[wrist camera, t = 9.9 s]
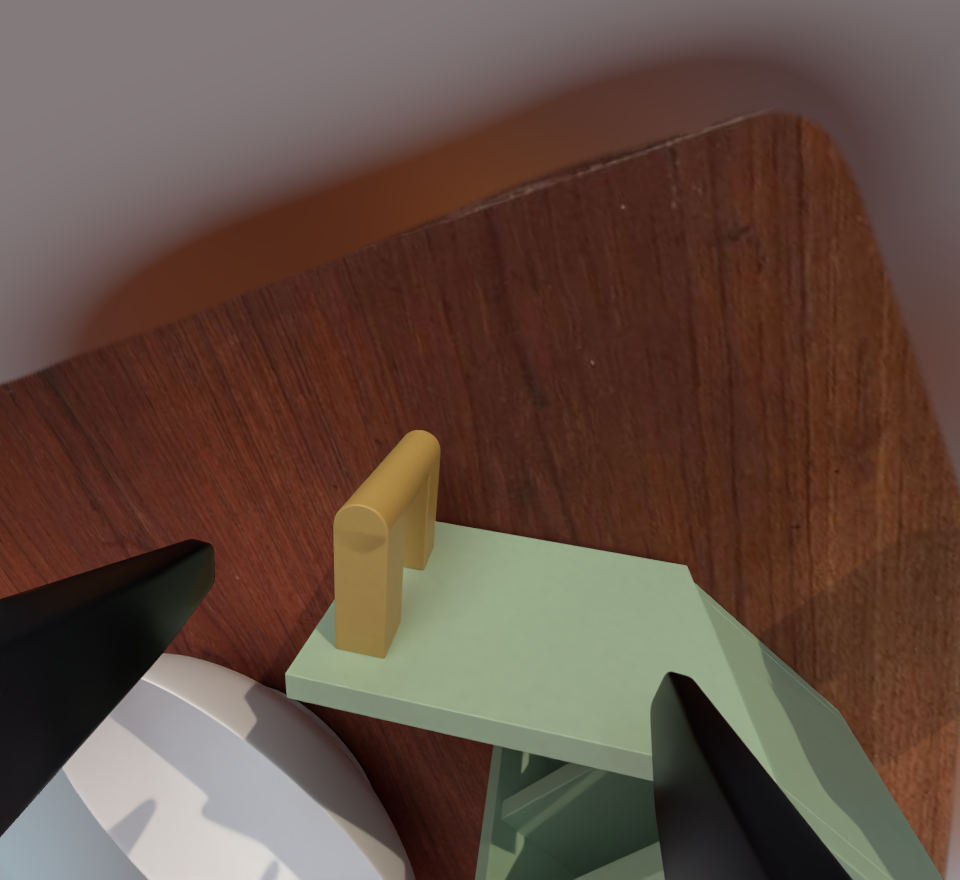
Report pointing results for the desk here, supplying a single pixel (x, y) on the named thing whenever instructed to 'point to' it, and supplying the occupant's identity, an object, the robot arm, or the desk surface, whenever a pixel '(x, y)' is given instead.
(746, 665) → the cupboard
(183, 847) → the bowl
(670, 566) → the door
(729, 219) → the desk surface
